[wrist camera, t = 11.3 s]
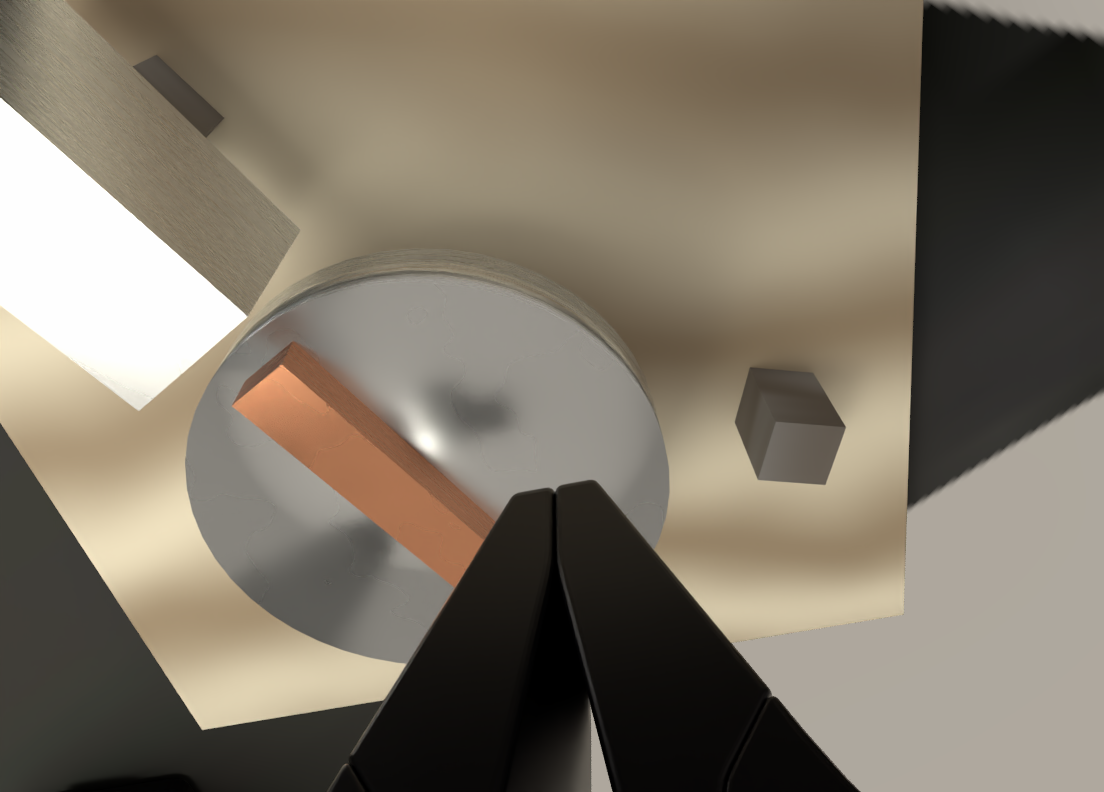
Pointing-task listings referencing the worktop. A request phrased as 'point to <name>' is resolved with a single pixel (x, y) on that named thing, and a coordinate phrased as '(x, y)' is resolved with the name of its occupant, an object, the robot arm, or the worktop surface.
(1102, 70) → the worktop surface
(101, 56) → the grey piece
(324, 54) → the base plate
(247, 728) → the worktop surface
